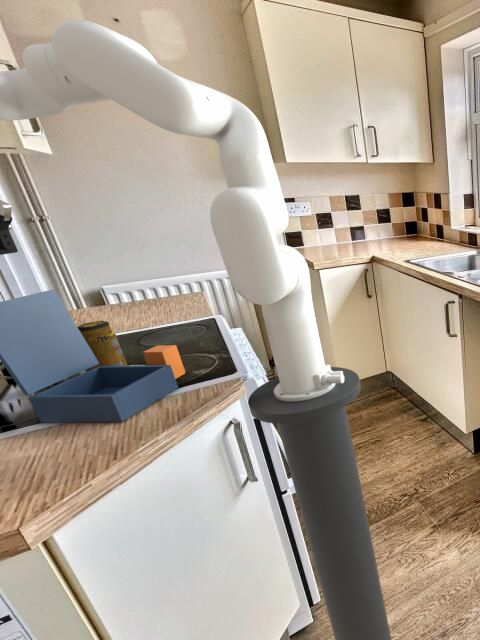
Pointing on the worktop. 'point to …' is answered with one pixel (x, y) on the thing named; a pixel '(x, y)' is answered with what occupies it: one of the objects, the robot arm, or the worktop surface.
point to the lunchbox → (104, 394)
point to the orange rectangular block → (165, 358)
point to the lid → (41, 341)
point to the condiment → (103, 343)
